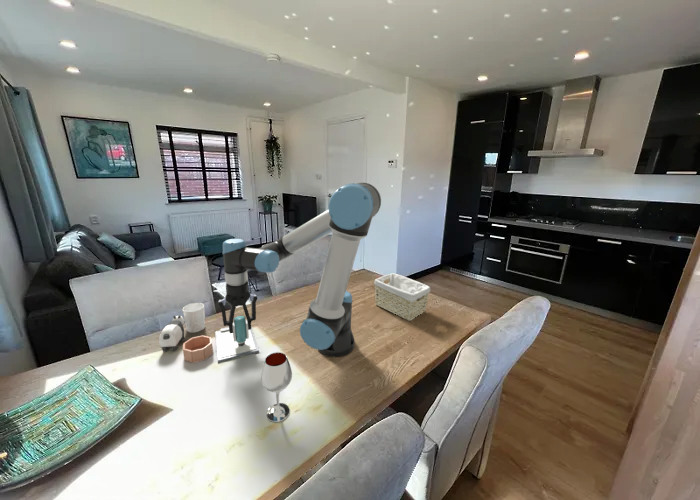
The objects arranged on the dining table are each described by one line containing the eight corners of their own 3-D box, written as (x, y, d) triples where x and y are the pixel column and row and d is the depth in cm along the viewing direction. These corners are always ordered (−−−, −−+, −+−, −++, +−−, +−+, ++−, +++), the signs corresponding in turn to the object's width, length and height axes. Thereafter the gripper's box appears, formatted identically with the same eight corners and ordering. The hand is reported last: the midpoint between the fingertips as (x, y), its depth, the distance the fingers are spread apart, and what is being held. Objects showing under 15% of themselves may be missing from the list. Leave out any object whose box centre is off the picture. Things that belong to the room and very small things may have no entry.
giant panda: (176, 353, 103) (172, 330, 100) (159, 354, 102) (155, 331, 99) (191, 331, 117) (188, 310, 114) (176, 331, 116) (173, 311, 113)
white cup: (197, 334, 114) (194, 313, 111) (181, 332, 115) (177, 310, 113) (210, 324, 121) (208, 304, 119) (194, 322, 123) (192, 301, 120)
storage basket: (428, 313, 139) (432, 285, 135) (409, 324, 128) (413, 295, 124) (390, 296, 156) (393, 271, 152) (371, 305, 145) (373, 278, 141)
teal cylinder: (247, 345, 107) (246, 319, 104) (236, 348, 105) (234, 322, 102) (246, 339, 110) (244, 315, 107) (235, 342, 108) (233, 317, 105)
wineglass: (266, 401, 83) (263, 349, 78) (294, 400, 84) (293, 349, 79) (260, 425, 75) (256, 370, 70) (291, 424, 76) (289, 369, 71)
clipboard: (259, 352, 105) (258, 348, 105) (218, 362, 99) (217, 358, 98) (250, 325, 122) (250, 322, 122) (215, 333, 116) (214, 329, 115)
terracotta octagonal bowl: (213, 357, 101) (212, 347, 100) (184, 364, 97) (182, 353, 96) (212, 343, 109) (211, 333, 108) (185, 349, 105) (183, 339, 103)
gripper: (259, 275, 107) (262, 328, 114) (210, 281, 100) (216, 338, 106) (263, 282, 101) (265, 338, 108) (210, 289, 93) (217, 349, 100)
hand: (241, 338), depth 107 cm, fingers closed on teal cylinder, 4 cm apart
